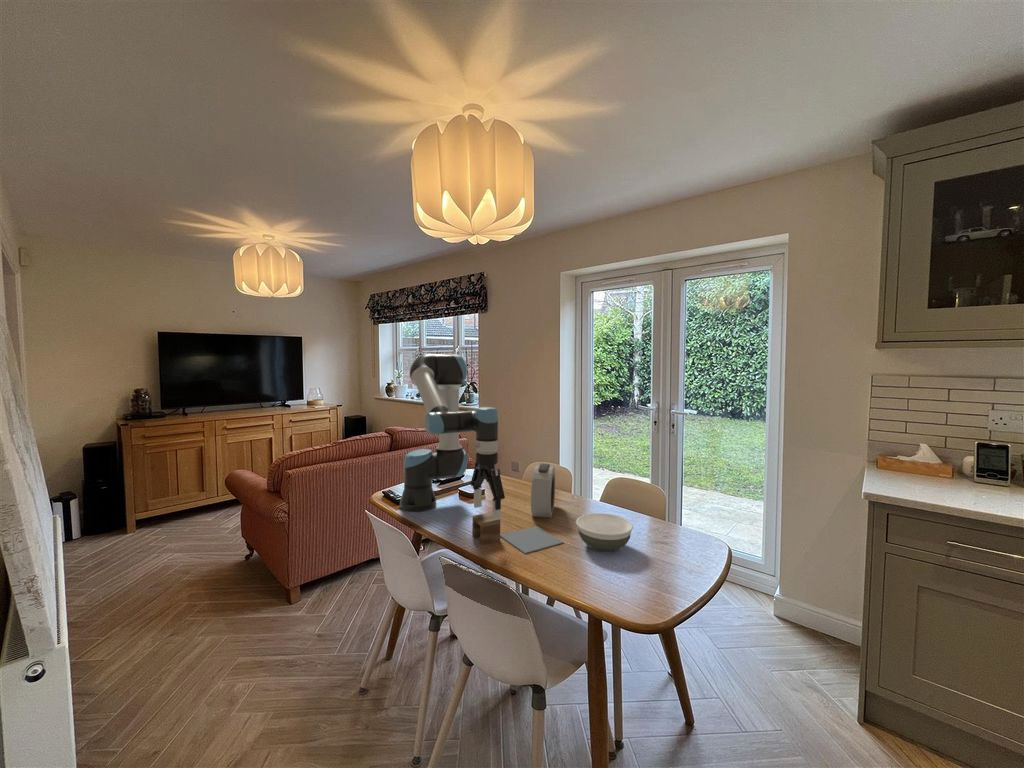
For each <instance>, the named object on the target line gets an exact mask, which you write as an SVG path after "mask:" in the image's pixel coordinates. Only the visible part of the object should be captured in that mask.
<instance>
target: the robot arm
mask: <svg viewBox="0 0 1024 768" xmlns="http://www.w3.org/2000/svg"><path fill="white" fill-rule="evenodd" d="M467 374H468V371H467V365H466V361H465V359H464V358H463V356H462V355H460V354H453V353H450V354H449V353H425V354H423V355H420V356H419V357H417V358H416V359H415V360H414V361H413V362H412V364H411V366H410V369H409V378H410V381H411V382H412V384H413V385H414V386H415V387H416V389H417V390H418V393H419V397H420V399H421V401H422V404H423V405H424V408H425V410H426V411H425V412H427V413H426V415H425V417H424V425H425V430H426V433H428V434H430V435H439V440H438V441H439V442H438V444H437V446H436V447H435V451H434V452H433V450H432V449H429V448H420V449H415V450H412V451H409V452H408V453H407V454H405V456H404V458H403V486H404V487H403V491H402V494H401V496H400V500H399V507H400V509H401V510H404V511H407V512H423V511H428V510H431V509H433V508H435V507H436V506H437V498H436V494H435V492H434V489H433V481H434V480H442V479H444V480H445V479H454V478H457V477H462V476H463V475H464V474H465V472H466V470H467V468H468V453H467V452H466V450H465V449H463V445H462V444H460V433H469V432H471V433H472V432H475V440H476V441H475V444H474V445H475V447H476V448H475V450H476V453H475V454H476V455H475V463H474V469H473V473H472V477H471V481H470V486H471V487H472V489H473V507H474V508H475V509H477V508H480V507H481V508H482V506H483V505H482V504H483V503H482V498H483V497H482V495H483V493H482V487H483V486H482V485H483V483H484V481H486V483H487V484H488V485H489V488H490V491H491V495H492V496H493V498H492V514H493V519H498V518H499V519H501V513H502V512H501V511H502V506H501V505H502V500H504V499H506V497H505V496H506V495H505V492H504V488H503V482H502V478H501V470H500V469H499V468H498V469H497V468H496V469H495V466H496V464H498V461H499V459H498V458H499V454H498V451H499V450H498V449H499V446H498V445H499V439H498V438H499V437H498V435H499V430H498V429H499V416H498V415H499V412H498V409H497V408H496V407H494V406H493V407H491V406H484V407H478V408H477V409H468V410H464V411H462V410H461V411H460V408H459V407H460V404H459V403H460V402H459V401H460V400H459V399H460V398H459V397H460V396H459V393H460V392H459V389H460V388H461V387H462V386H463V381H465V380H467V376H468V375H467Z"/></svg>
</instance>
